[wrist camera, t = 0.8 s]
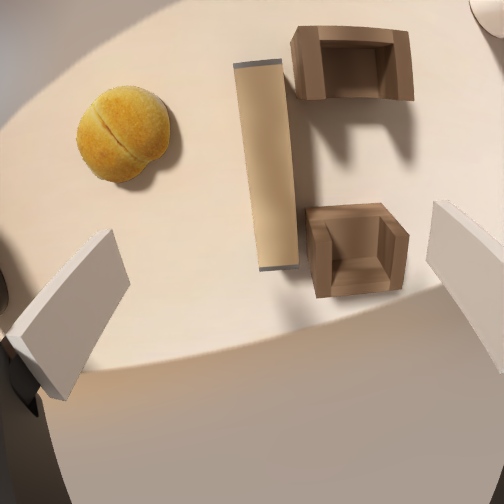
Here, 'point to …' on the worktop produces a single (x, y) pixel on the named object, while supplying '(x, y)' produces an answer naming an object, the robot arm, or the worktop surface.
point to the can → (490, 15)
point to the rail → (268, 161)
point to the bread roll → (123, 133)
